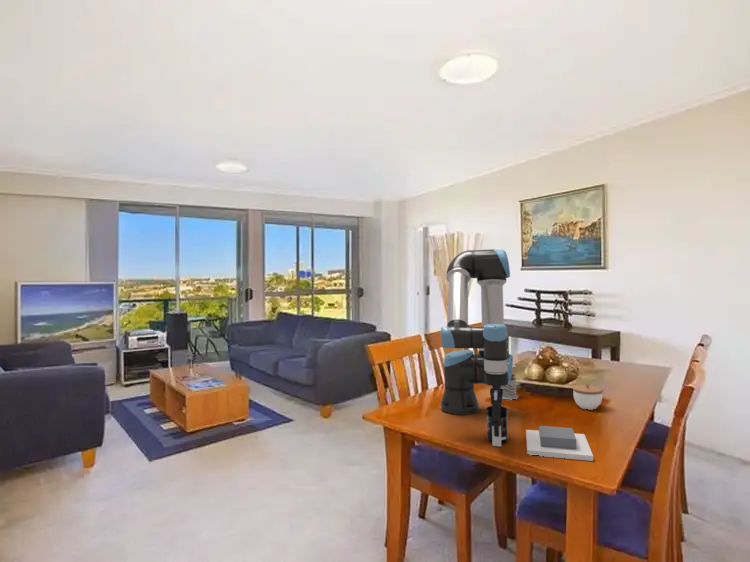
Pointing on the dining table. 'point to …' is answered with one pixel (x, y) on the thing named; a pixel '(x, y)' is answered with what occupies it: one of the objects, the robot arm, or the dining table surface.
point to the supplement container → (502, 420)
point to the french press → (508, 392)
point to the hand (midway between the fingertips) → (497, 439)
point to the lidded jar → (587, 396)
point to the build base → (559, 451)
